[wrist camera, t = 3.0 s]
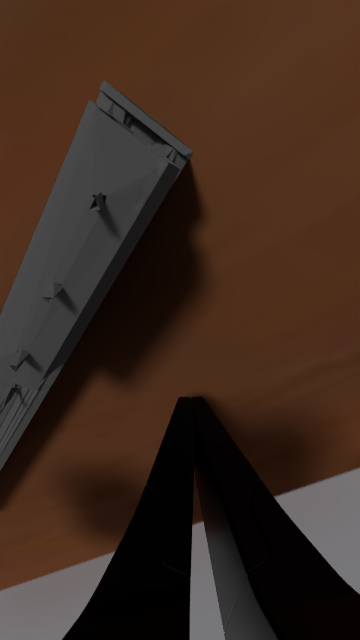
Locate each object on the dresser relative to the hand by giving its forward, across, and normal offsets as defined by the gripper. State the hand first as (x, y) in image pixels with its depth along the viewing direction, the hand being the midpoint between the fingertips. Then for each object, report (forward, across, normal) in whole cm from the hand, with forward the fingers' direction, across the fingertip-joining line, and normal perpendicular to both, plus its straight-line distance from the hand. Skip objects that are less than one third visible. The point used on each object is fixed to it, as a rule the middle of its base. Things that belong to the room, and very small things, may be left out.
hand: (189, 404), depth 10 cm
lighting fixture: (+2, +6, 0) cm, 6 cm away
